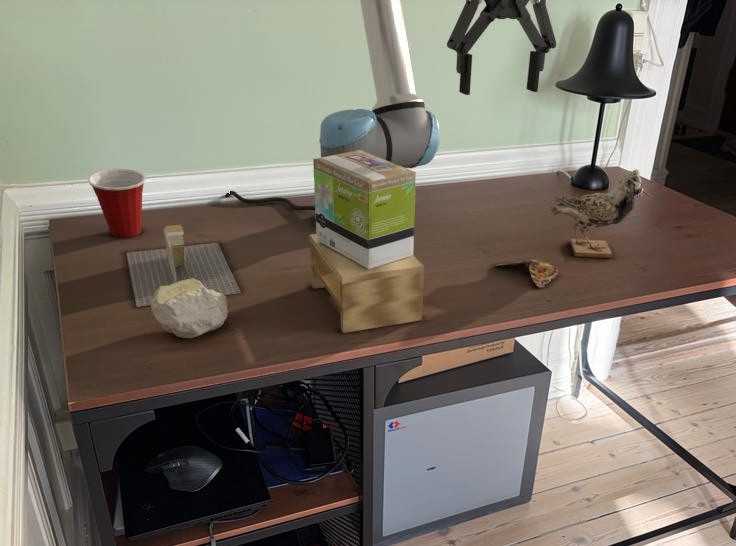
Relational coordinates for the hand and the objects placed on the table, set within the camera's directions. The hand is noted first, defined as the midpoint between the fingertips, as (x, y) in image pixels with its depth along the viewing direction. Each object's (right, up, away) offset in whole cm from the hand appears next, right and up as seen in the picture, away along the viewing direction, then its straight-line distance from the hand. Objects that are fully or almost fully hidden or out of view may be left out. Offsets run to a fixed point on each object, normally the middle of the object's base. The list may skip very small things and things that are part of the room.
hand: (498, 92), depth 131 cm
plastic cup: (-76, -21, +22) cm, 82 cm away
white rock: (-50, -43, -12) cm, 67 cm away
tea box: (-23, -29, -6) cm, 38 cm away
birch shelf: (-24, -38, -1) cm, 45 cm away
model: (-59, -31, +7) cm, 67 cm away
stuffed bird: (+22, -25, +25) cm, 41 cm away
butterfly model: (+8, -31, +13) cm, 34 cm away
